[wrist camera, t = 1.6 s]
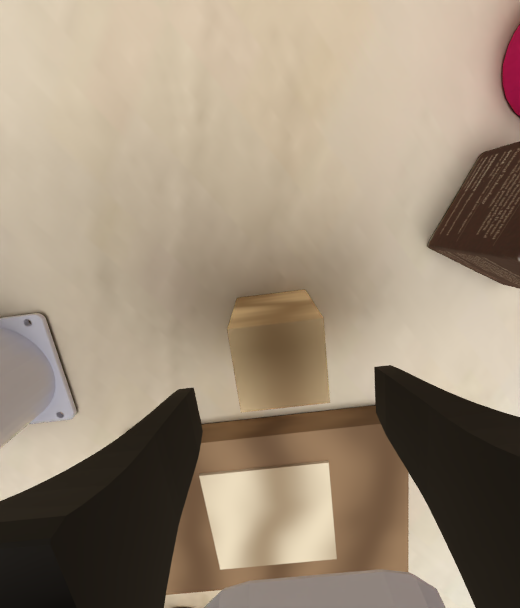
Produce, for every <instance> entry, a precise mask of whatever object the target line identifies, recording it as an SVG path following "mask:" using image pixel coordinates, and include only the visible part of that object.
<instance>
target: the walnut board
mask: <svg viewBox="0 0 520 608" xmlns="http://www.w3.org/2000/svg"><path fill="white" fill-rule="evenodd" d="M201 425H202V430H203V433H202V440H201V446H200V452H199V457H198V460H197V464H196V467H195V471H194V474H193V478H192V481H191V484H190V488H189V491H188V494H187V498H186V501H185V504H184V508H183V511H182V515H181V519H180V523H179V527H178V532H177V537H176V542H175V547H174V552H173V557H172V562H171V568H170V574H169V579H168V585H167V590H166V595H169V594H180V593H192V592H203V591H214V590H223V589H224V588H227V587H230V586H234V585H237V584H240V583H244V582H247V581H252V580H264V579H275V578H287V577H298V576H309V575H321V574H332V573H344V572H355V571H367V570H378V569H383V570H393V571H402V572H408V471H407V469H406V467H405V466H404V464H403V462H402V461H401V459H400V458H399V456H398V454H397V453H396V451H395V449H394V448H393V446H392V444H391V443H390V441H389V439H388V438H387V436H386V434H385V432H384V430H383V428H382V425H381V423H380V421H379V418H378V416H377V414H376V405H374V406H364V407H355V408H346V409H337V410H328V411H319V412H310V413H301V414H292V415H283V416H274V417H265V418H256V419H247V420H237V421H228V422H219V423H210V424H201Z"/></svg>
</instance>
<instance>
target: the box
mask: <svg viewBox="0 0 520 608" xmlns="http://www.w3.org/2000/svg"><path fill="white" fill-rule="evenodd" d="M428 247H429V248H430V249H432V250H434V251H436V252H438V253H440V254H442V255H444V256H447V257H449V258H450V259H452V260H454V261H456V262H458V263H460V264H462V265H464V266H466V267H468V268H470V269H473V270H475V271H476V272H478V273H481V274H483V275H485V276H487V277H489V278H491V279H493V280H495V281H497V282H499V283H501V284H503V285H507V286H512V287H516V288H520V142H516V143H513V144H510V145H506V146H503V147H500V148H496V149H493V150H490V151H486V152H484V153H483V154H482V155H481V156H479V158H478V160H477V161H476V163H475V164H474V166H473V168H472V170H471V171H470V173H469V175H468V176H467V178H466V180H465V182H464V184H463V186H462V187H461V189H460V191H459V193H458V194H457V196H456V197H455V199H454V201H453V203H452V204H451V206H450V207H449V209H448V211H447V213H446V214H445V216H444V217H443V219H442V221H441V222H440V224H439V226H438V228H437V229H436V230H435V232H434V234H433V235H432V237H431V239H430V241H429V243H428Z"/></svg>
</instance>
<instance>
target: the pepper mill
mask: <svg viewBox="0 0 520 608" xmlns="http://www.w3.org/2000/svg"><path fill="white" fill-rule="evenodd" d="M503 87H504V91H505V95H506V99H507V101H508V102H509V104H510V105H511V107H512V108H513V110H514V112H515V113H516V114H517V115H519V116H520V25H519V26H518V28H517V29H516V31H515V33H514V35H513V37H512V39H511V41H510V43H509V45H508V48H507V52H506V56H505V59H504V63H503Z"/></svg>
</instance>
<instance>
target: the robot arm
mask: <svg viewBox="0 0 520 608" xmlns="http://www.w3.org/2000/svg"><path fill="white" fill-rule="evenodd" d="M28 319H29V320H30V321H31V322H32V324H30V323H29V322H28ZM375 399H376V414H377V416H378V418H379V421H380V423H381V425H382V428H383V430H384V432H385V434H386V436H387V438H388V439H389V441H390V443H391V444H392V446H393V448H394V449H395V451H396V453H397V454H398V456H399V458H400V459H401V461H402V462H403V464H404V466H405V467H406V469H407V471H408V472H409V474H410V475H411V477H412V479H413V480H414V482H415V484H416V485H417V487H418V488H419V490H420V492H421V494H422V495H423V497H424V499H425V501H426V503H427V504H428V506H429V509H430V511H431V513H432V515H433V517H434V519H435V521H436V523H437V525H438V527H439V529H440V531H441V533H442V535H443V537H444V539H445V541H446V543H447V546H448V548H449V550H450V552H451V554H452V556H453V558H454V560H455V563H456V565H457V567H458V569H459V571H460V573H461V576H462V578H463V580H464V582H465V585H466V587H467V589H468V591H469V594H470V596H471V598H472V600H473V603H474V605H475V607H476V608H520V417H517V416H513V415H510V414H507V413H503V412H500V411H497V410H494V409H491V408H488V407H485V406H482V405H479V404H477V403H474V402H471V401H469V400H466V399H464V398H461V397H459V396H456V395H454V394H452V393H449V392H447V391H445V390H442V389H440V388H438V387H436V386H434V385H432V384H429V383H427V382H425V381H423V380H421V379H419V378H417V377H415V376H413V375H411V374H409V373H407V372H405V371H403V370H400V369H398V368H396V367H393V366H391V365H389V366H380V367H375ZM60 412H62V413H63V414H64V415H63V414H61V413H60ZM76 414H77V410H76V407H75V404H74V401H73V398H72V395H71V392H70V389H69V386H68V383H67V380H66V377H65V374H64V371H63V368H62V365H61V362H60V359H59V356H58V353H57V350H56V348H55V345H54V342H53V339H52V336H51V333H50V330H49V327H48V324H47V321H46V318H45V317H44V316H43V315H42V314H40V313H33V314H25V315H17V316H9V317H1V318H0V448H2V447H3V446H4V445H5V444H6V443H7V442H8V441H10V440H11V439H12V438H13V437H14V436H15V435H16V434H18V433H19V432H20V431H21V430H22V429H23V428H25V427H26V426H27V425H28V424H35V423H44V422H53V421H62V420H70V419H72V418H73V417H74V416H75V415H76ZM202 433H203V430H202V425H201V420H200V416H199V411H198V406H197V401H196V397H195V392H194V388H186V389H179V390H177V391H176V392H174V393H173V394H172V395H171V396H169V397H168V398H167V399H166V400H165V401H164V402H162V403H161V404H160V405H159V406H158V407H157V408H155V409H154V410H153V411H152V412H151V413H150V414H148V415H147V416H146V417H145V418H144V419H142V420H141V421H140V422H139V423H137V424H136V425H135V426H133V427H132V428H131V429H130V430H128V431H127V432H126V433H125V434H123V435H122V436H120V437H119V438H118V439H116V440H115V441H113V442H112V443H111V444H109V445H108V446H106V447H104V448H103V449H101V450H100V451H98V452H97V453H95V454H94V455H92V456H90V457H88V458H87V459H85V460H83V461H82V462H80V463H78V464H76V465H75V466H73V467H71V468H69V469H68V470H66V471H64V472H62V473H60V474H58V475H56V476H54V477H52V478H50V479H48V480H47V481H44V482H42V483H40V484H38V485H36V486H34V487H32V488H30V489H28V490H25V491H23V492H21V493H19V494H16V495H14V496H12V497H9V498H7V499H5V500H2V501H0V608H164V603H165V596H166V590H167V585H168V579H169V574H170V568H171V562H172V557H173V552H174V547H175V542H176V537H177V532H178V527H179V523H180V519H181V515H182V511H183V508H184V504H185V501H186V498H187V494H188V491H189V488H190V484H191V481H192V478H193V474H194V471H195V467H196V464H197V460H198V457H199V452H200V446H201V440H202ZM204 608H445V605H444V603H443V601H442V599H441V597H440V595H439V593H438V591H437V589H436V588H434V587H433V586H431V585H429V584H428V583H426V582H425V581H423V580H422V579H420V578H418V577H417V576H415V575H413V574H411V573H409V572H402V571H393V570H383V569H378V570H367V571H355V572H344V573H332V574H321V575H309V576H298V577H287V578H275V579H264V580H252V581H247V582H244V583H240V584H237V585H234V586H230V587H227V588H224V589H223V590H222V591H221V592H220V593H219V594H218V595H216V596H215V597H214V598H213V599H212V600H211V601H210V602H209V603H208V604H207V605H206V606H205V607H204Z"/></svg>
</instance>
